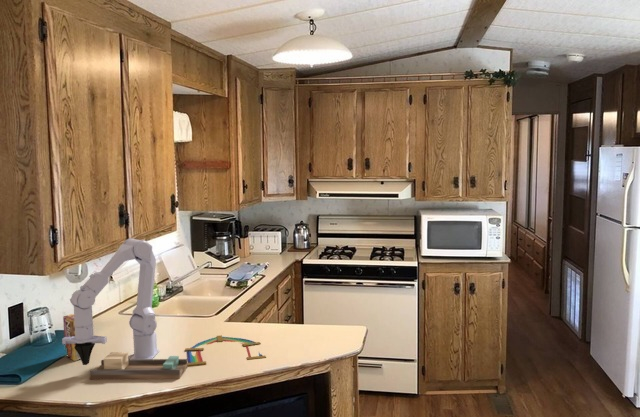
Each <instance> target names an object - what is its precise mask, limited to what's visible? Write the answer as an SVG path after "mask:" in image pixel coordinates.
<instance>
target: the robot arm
mask: <svg viewBox="0 0 640 417" xmlns="http://www.w3.org/2000/svg"><path fill="white" fill-rule="evenodd" d="M132 260H135V261H136V262H137V263H138V264H139V274H138V287H137V297H136V305H135V308H134V309H133V310H132V315H131V316H130V318H129V322H128V323H129V327H130V328H131V329H132V335H133V336H132V339H133V355H132V356H131V357H130V358H129V359H154V357H156V356H157V354H158V353H159V352H160V349H158V343H157V333H156V332H155V331H156V328H157V324H158V323H157V320H156V313H155V311H154V309H153V306H152V305H153V300H154V299H153V297H154V286H155V276H156V274H155V273H156V262H157V260H156V255H155V254H154V252H153V245H152V244H150V242H148V241H147V240H141V239H136V238H132V237H131V238H127V239H126V240H124V241H123V243H122V244H120V245H119V247H118V249H117V251H115V254H114V255H112V257H111V258H110V259H109V261H108V262H107V263H106V264H105V265H104V266H103V268H102V269H101V270H100V271H96V272H94V273H90V275H89V278H88V279H87V281H86V282H85V283H84V284H83V285H81V286H79V289H77V290H75V291H73V293H72V294H71V298H69V301H70V304H71V305H72V306H73V314H74V323H75V336H72V337H64V336H63V338H61V339H62V340H61V341H62V342H61V344H62V345H64V344H75V343H76V346H75V347H74V348H75V350H76V351H77V352H78V354H79V356H80V358H81V359H80V361H81V362H82V363H81V364H82V365H83V366H87V365H89V363H90V359H91V355H92V352H93V349H94V347H95V345H96V344H102V345H106V343H108V337H107V336H102V335H95V334H94V321H93V319H94V316H93V305H95V301H96V297H97V296H98V295H99V294H100V293H101V292H102V291H103V289H104V288H105V287H106V286H107V285H108V284H109V283H110V282H109V278H110V276H112V275H113V274H114V273H115V271H117V270H118V269H119V268H120V267H121V266H122V265H123V264H124V263H125V262H127V261H132Z"/></svg>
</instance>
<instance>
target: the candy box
mask: <svg viewBox="0 0 640 417" xmlns="http://www.w3.org/2000/svg"><path fill="white" fill-rule="evenodd" d="M62 320H63V338H64V337H72V336H75V323H74V313H72V314H67V315H63V316H62ZM65 345H66V348H67V353H68V354H67V355H68V357H70V358H71V359H70V358H69V359H70V360H72V361H74V362H75V361H80V360H81V358H80V356H79V354H78V352H77V351H76V350H75V348H74V347H75V346H76V343H75V344H65ZM65 345H64V346H65ZM68 357H67V358H68ZM79 359H80V360H79Z"/></svg>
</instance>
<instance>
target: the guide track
mask: <svg viewBox="0 0 640 417" xmlns="http://www.w3.org/2000/svg"><path fill="white" fill-rule="evenodd" d="M128 362H129V365H128V366H127V367H126V368H125V369H104V359H102V360H100V365H99V366H98V367H97V368H96V369H93V368H92V369H90V370H89V379H90V380H164V379H165V380H169V379H170V380H172V379H173V380H176V379H178V380H179V379H181V377H182V376H183V375H184V373H185V372H186V370H187V369H188V367H187V363H188V358H179V355H170V356H168V358H160V359H159V358H153V359H130V358H128Z"/></svg>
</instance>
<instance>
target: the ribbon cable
mask: <svg viewBox="0 0 640 417" xmlns="http://www.w3.org/2000/svg"><path fill="white" fill-rule="evenodd" d="M216 342H218V343H224V342H229V343H240V345H242V347H244V348H246V352H247V354H248V356H247V357H246V360H247V361H249V360H258V359H267V356H266V355H263V354H262V353H260V352H258V355H256V356H252V355H251V352H250V348H249V346H253V347H254V346H256V345H261V344H262V343H261V342H260V341H254V340H250V339H246V338H241V337H240V338H239V337H233V336H231V337H229V336H222V335H216V337H215V336H214V337H212V338H209V339H206V340H203V341H200V342H197V343H195V345H193V346H191V347H190V348H189V347H187V348H185V349H184V352H186V355H187V356H186V357H187V368H189V367H195V366H197V367H198V366H204V365H207V361H204V360H203V357H202V352H203V351H204V350H205V348H204V347H200V346H204V345H206V346H208V345H211V344H214V343H216ZM192 351H196V352H195V354H194V355H193V353H192Z"/></svg>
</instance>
